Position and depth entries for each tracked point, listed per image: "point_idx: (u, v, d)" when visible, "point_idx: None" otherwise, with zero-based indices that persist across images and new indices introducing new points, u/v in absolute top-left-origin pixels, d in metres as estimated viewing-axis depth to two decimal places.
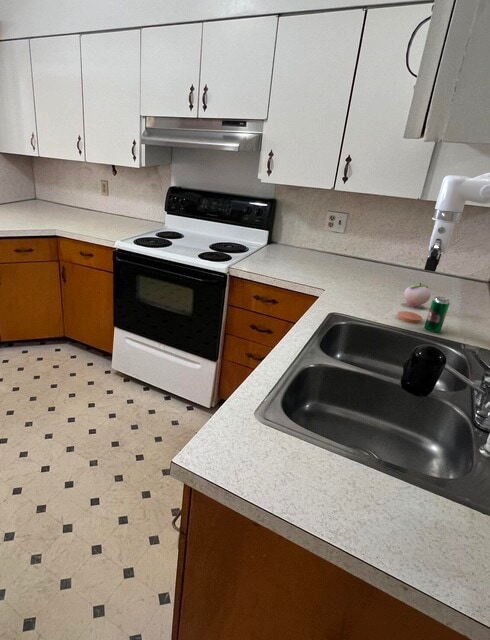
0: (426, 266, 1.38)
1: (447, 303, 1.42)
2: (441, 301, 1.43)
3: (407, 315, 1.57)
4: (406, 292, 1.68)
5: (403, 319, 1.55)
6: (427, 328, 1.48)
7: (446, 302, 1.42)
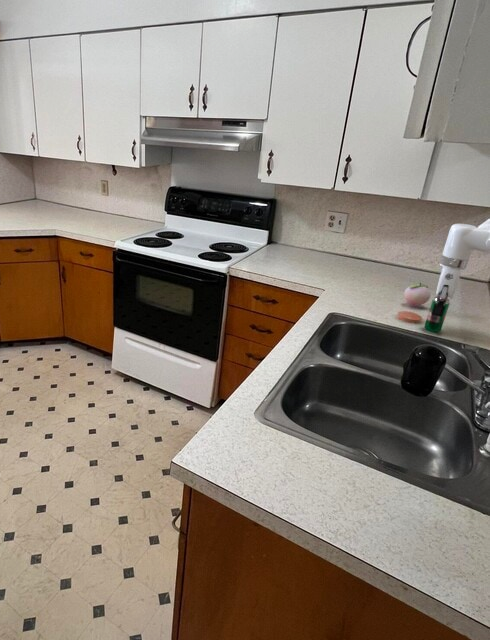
0: (433, 311, 1.44)
1: (447, 303, 1.42)
2: None
3: (407, 315, 1.57)
4: (406, 292, 1.68)
5: (403, 319, 1.55)
6: (427, 328, 1.48)
7: (446, 302, 1.42)
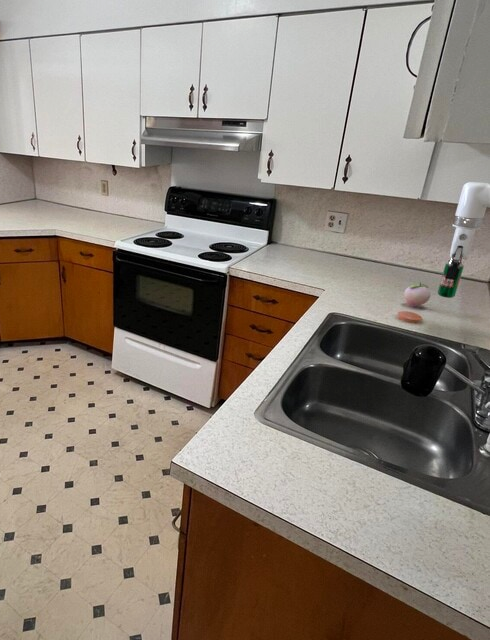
0: (447, 275, 1.39)
1: (461, 266, 1.38)
2: None
3: (407, 315, 1.57)
4: (406, 292, 1.68)
5: (403, 319, 1.55)
6: (441, 293, 1.43)
7: (460, 265, 1.38)
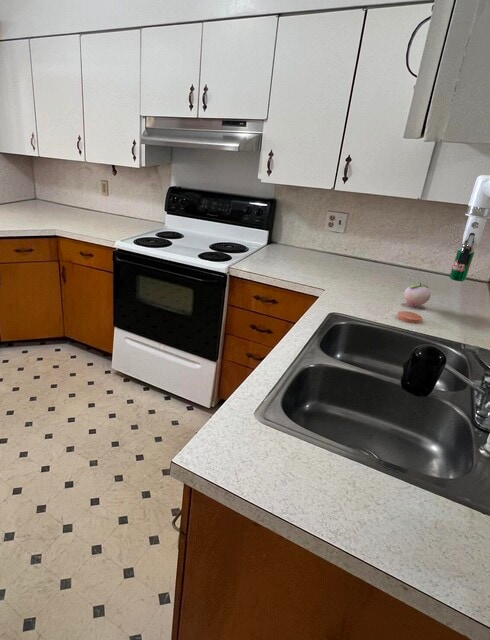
0: (459, 260, 1.52)
1: (472, 252, 1.51)
2: None
3: (407, 315, 1.57)
4: (406, 292, 1.68)
5: (403, 319, 1.55)
6: (452, 277, 1.56)
7: (471, 251, 1.51)
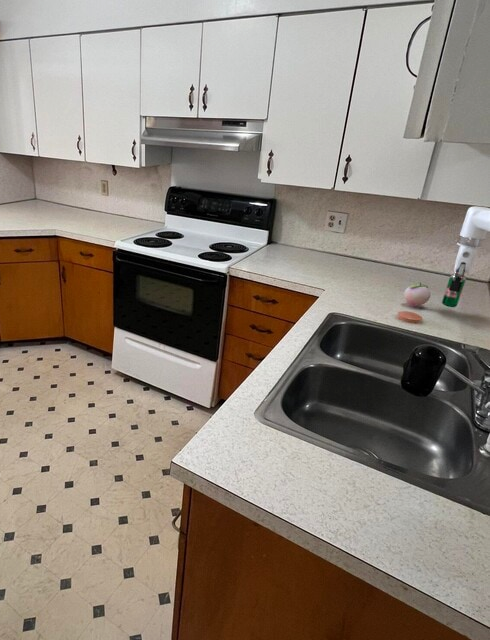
0: (451, 287, 1.58)
1: (463, 279, 1.56)
2: None
3: (407, 315, 1.57)
4: (406, 292, 1.68)
5: (403, 319, 1.55)
6: (445, 303, 1.61)
7: (463, 278, 1.56)
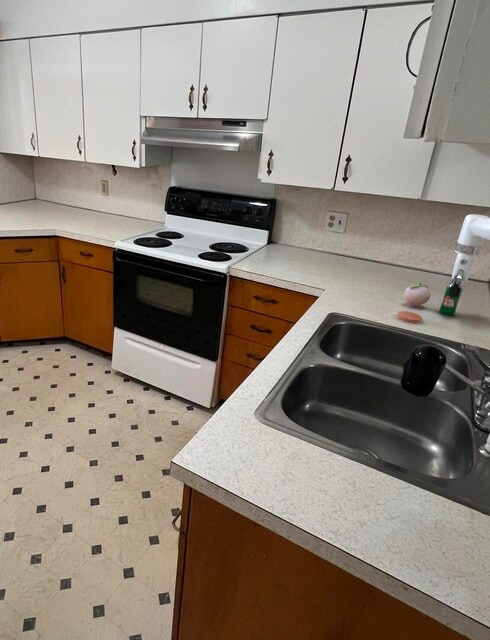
0: (449, 293, 1.57)
1: None
2: None
3: (407, 315, 1.57)
4: (406, 292, 1.68)
5: (403, 319, 1.55)
6: (442, 312, 1.63)
7: None
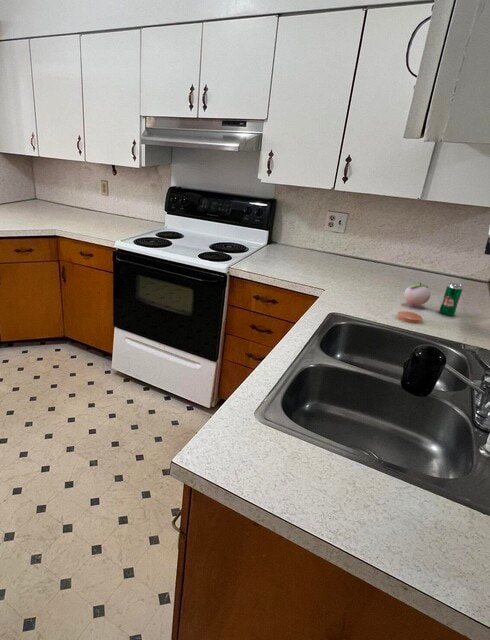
0: (486, 250, 1.40)
1: (460, 288, 1.58)
2: (455, 287, 1.58)
3: (407, 315, 1.57)
4: (406, 292, 1.68)
5: (403, 319, 1.55)
6: (442, 312, 1.63)
7: (460, 288, 1.58)
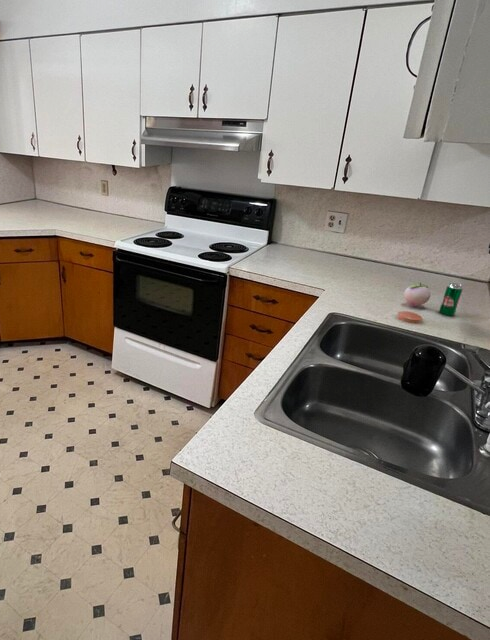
0: None
1: (460, 288, 1.58)
2: (455, 287, 1.58)
3: (407, 315, 1.57)
4: (406, 292, 1.68)
5: (403, 319, 1.55)
6: (442, 312, 1.63)
7: (460, 288, 1.58)
